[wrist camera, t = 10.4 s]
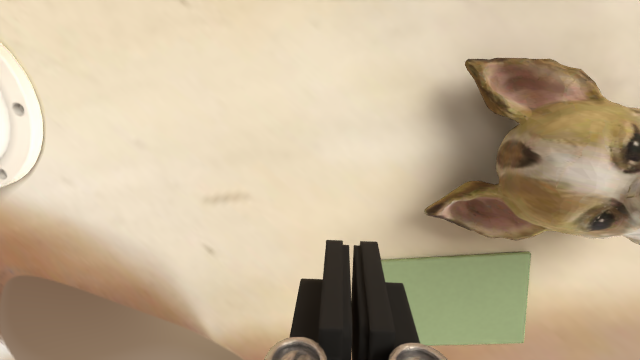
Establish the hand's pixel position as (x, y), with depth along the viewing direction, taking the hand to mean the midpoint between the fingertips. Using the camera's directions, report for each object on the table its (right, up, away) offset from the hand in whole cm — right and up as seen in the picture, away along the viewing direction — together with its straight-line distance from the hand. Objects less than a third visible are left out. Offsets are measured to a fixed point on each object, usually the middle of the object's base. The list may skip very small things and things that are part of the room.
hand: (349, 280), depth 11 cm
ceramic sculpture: (+14, +5, +11) cm, 18 cm away
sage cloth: (+9, -6, +15) cm, 18 cm away
